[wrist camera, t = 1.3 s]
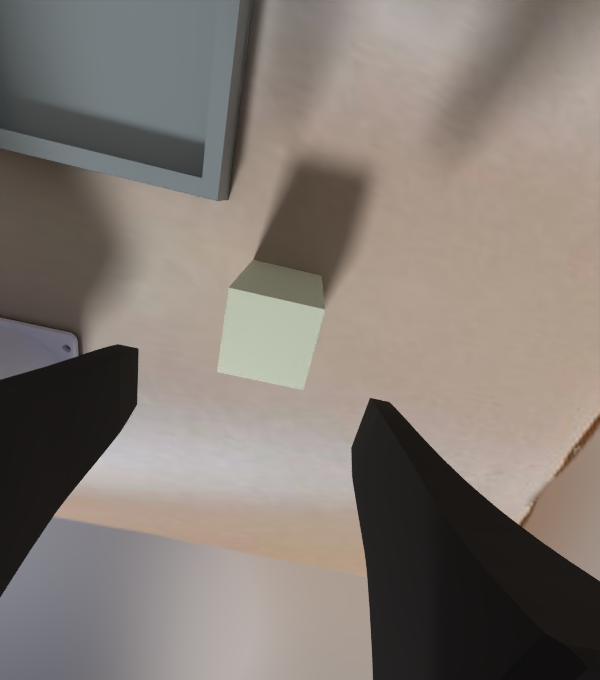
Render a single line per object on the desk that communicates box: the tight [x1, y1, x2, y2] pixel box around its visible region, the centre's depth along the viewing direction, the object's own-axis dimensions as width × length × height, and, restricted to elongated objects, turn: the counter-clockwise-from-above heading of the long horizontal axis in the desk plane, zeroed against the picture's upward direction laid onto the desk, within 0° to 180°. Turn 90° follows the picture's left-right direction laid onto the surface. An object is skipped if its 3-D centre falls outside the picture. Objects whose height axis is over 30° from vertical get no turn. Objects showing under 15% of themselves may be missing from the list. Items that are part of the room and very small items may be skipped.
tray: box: [0, 0, 253, 201], centre depth 14 cm, size 12×12×2 cm
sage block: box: [217, 260, 325, 390], centre depth 17 cm, size 4×4×6 cm
